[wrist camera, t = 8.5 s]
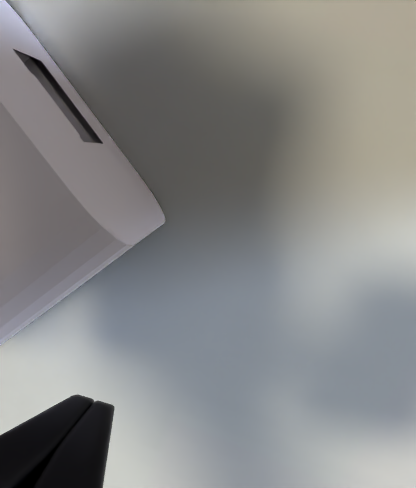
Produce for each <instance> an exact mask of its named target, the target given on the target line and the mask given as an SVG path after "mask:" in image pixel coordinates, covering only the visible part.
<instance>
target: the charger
mask: <svg viewBox="0 0 416 488" xmlns="http://www.w3.org/2000/svg"><path fill="white" fill-rule="evenodd" d="M165 220H166V219H165V216H164V213H163V211H162V209H161V207H160V205H159V204H158V202H157V200H156V199H155V197H154V196H153V194H152V192H151V191H150V189H149V188H148V187H147V185H146V184H145V182H144V181H143V180H142V178H141V177H140V176H139V174H138V173H137V172H136V170H135V169H134V168H133V166H132V165H131V164H130V162H129V161H128V160H127V158H126V157H125V156H124V154H123V153H122V151H121V150H120V149H119V147H118V146H117V145H116V143H115V142H114V141H113V139H112V138H111V137H110V135H109V134H108V133H107V131H106V130H105V129H104V127H103V126H102V125H101V123H100V122H99V121H98V119H97V118H96V117H95V115H94V114H93V113H92V111H91V110H90V109H89V107H88V106H87V105H86V103H85V102H84V101H83V99H82V98H81V97H80V95H79V94H78V93H77V91H76V90H75V89H74V87H73V86H72V85H71V83H70V82H69V81H68V79H67V78H66V77H65V75H64V74H63V73H62V71H61V70H60V69H59V67H58V66H57V65H56V63H55V62H54V61H53V59H52V58H51V57H50V55H49V54H48V53H47V51H46V50H45V49H44V47H43V46H42V45H41V43H40V42H39V41H38V39H37V38H36V37H35V35H34V34H33V33H32V32H31V30H30V29H29V28H28V26H27V25H26V24H25V23H24V21H23V20H22V19H21V18H20V17H19V15H18V14H17V13H16V12H15V11H14V10H13V8H12V7H11V6H10V5H9V4H8V3H7V2H6V1H5V0H0V345H2V344H3V343H5V342H6V341H7V340H9V339H10V338H11V337H13V336H14V335H15V334H17V333H18V332H19V331H21V330H22V329H23V328H25V327H26V326H27V325H29V324H30V323H31V322H33V321H34V320H35V319H37V318H38V317H39V316H41V315H42V314H43V313H45V312H46V311H47V310H49V309H50V308H51V307H53V306H54V305H55V304H57V303H58V302H59V301H61V300H62V299H63V298H65V297H66V296H67V295H69V294H70V293H72V292H73V291H74V290H76V289H77V288H78V287H80V286H81V285H82V284H84V283H85V282H86V281H88V280H89V279H90V278H92V277H93V276H94V275H96V274H97V273H98V272H100V271H101V270H102V269H104V268H105V267H106V266H108V265H109V264H110V263H112V262H113V261H114V260H116V259H117V258H118V257H120V256H121V255H122V254H124V253H125V252H126V251H128V250H129V249H130V248H132V247H133V246H134V245H136V244H137V243H138V242H140V241H141V240H143V239H144V238H145V237H147V236H148V235H149V234H151V233H152V232H153V231H155V230H156V229H157V228H159V227H160V226H161V225H163V224H164V223H165Z"/></svg>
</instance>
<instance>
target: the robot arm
mask: <svg viewBox="0 0 416 488" xmlns="http://www.w3.org/2000/svg"><path fill="white" fill-rule="evenodd" d="M113 415H114V406H113V405H111V404H108V403H104V402H101V401H95V402H94V400H93V399H91V398H88V397H85V396H81V395H73V396H71V397H69V398H67V399H66V400H64V401H62V402H60V403H58V404H56V405H55V406H53V407H51V408H49V409H47V410H46V411H44V412H42V413H40V414H38V415H36V416H35V417H33V418H31V419H29V420H27V421H26V422H24V423H22V424H20V425H18V426H17V427H15V428H13V429H11V430H9V431H7V432H6V433H4V434H2V435H0V488H103V481H104V475H105V468H106V461H107V455H108V448H109V441H110V435H111V428H112V421H113Z"/></svg>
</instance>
